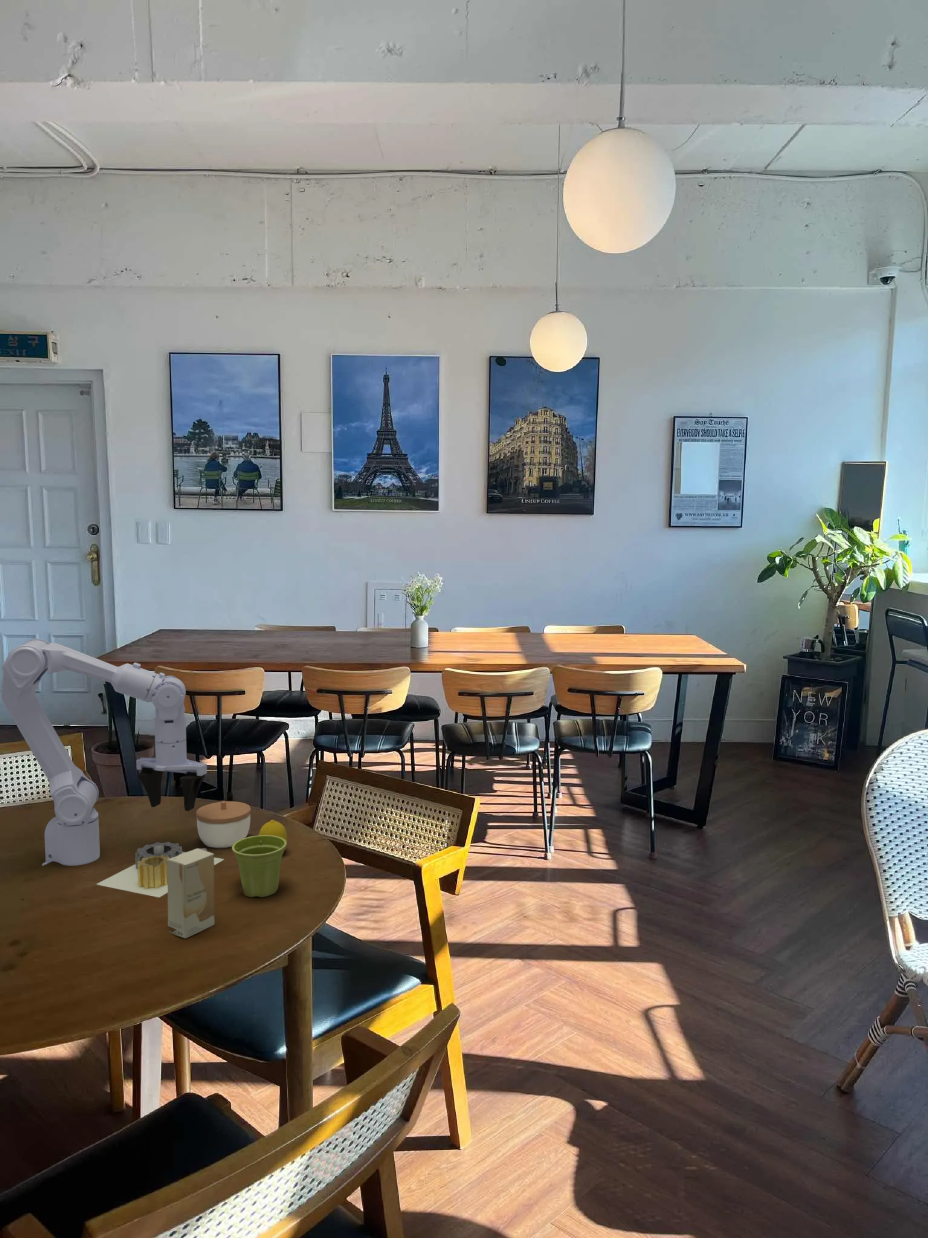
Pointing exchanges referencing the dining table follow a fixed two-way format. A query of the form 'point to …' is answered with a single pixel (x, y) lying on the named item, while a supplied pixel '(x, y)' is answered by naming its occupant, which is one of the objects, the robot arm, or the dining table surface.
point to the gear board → (130, 879)
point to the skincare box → (191, 892)
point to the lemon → (274, 830)
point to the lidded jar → (223, 823)
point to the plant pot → (259, 863)
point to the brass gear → (153, 872)
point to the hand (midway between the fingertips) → (172, 807)
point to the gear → (148, 851)
